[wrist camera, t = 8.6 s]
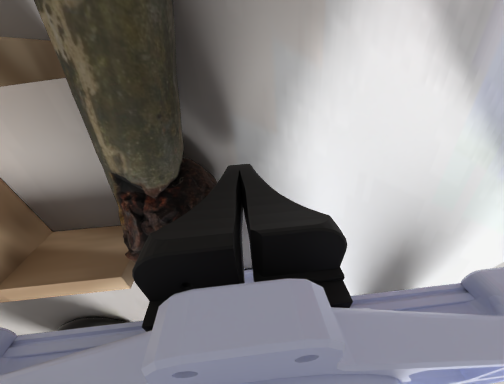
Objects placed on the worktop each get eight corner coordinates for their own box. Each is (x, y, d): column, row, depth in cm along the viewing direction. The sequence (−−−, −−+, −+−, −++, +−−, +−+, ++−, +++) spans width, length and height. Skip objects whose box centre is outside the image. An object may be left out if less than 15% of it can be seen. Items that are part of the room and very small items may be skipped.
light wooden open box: (153, 234, 17) (130, 288, 13) (46, 244, 17) (-12, 303, 13) (53, 40, 9) (-85, 30, 5) (-161, 51, 9) (-493, 48, 5)
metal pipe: (62, -44, 8) (-161, -179, 3) (224, -16, 9) (219, -91, 4) (149, 239, 18) (123, 300, 14) (221, 238, 19) (218, 296, 14)
